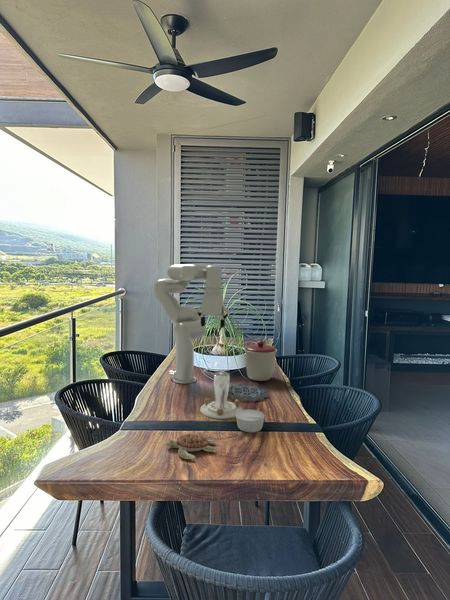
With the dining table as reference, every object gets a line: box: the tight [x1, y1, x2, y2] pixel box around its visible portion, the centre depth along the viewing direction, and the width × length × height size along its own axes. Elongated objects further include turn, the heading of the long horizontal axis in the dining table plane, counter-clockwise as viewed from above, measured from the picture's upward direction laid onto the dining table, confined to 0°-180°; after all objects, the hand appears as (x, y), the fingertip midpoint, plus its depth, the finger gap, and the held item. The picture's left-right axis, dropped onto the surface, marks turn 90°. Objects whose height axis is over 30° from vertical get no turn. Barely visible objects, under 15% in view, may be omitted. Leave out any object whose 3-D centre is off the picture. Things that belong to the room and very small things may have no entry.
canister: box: [243, 340, 278, 382], centre depth 216 cm, size 18×18×21 cm
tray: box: [199, 397, 244, 420], centre depth 168 cm, size 18×18×4 cm
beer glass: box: [213, 371, 231, 410], centre depth 168 cm, size 7×7×15 cm
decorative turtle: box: [166, 433, 217, 460], centre depth 134 cm, size 18×17×5 cm
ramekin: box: [235, 408, 265, 433], centre depth 152 cm, size 11×11×5 cm
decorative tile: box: [228, 384, 269, 403], centre depth 189 cm, size 20×20×2 cm
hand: (212, 326), depth 189 cm, fingers open, 9 cm apart
